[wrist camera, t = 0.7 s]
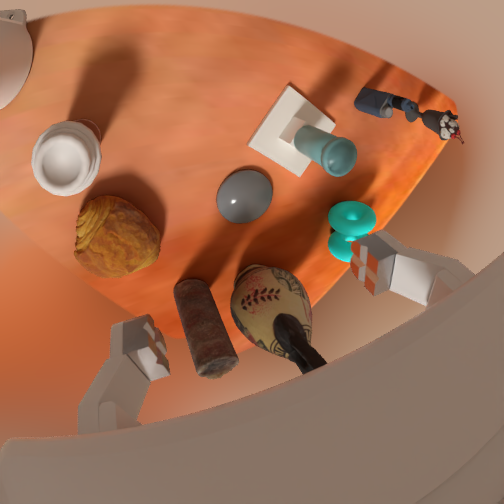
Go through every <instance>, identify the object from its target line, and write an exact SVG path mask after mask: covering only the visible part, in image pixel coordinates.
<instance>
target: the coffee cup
mask: <svg viewBox="0 0 504 504" xmlns="http://www.w3.org/2000/svg"><path fill="white" fill-rule="evenodd" d="M100 142H101V134H100V130H99V128H98V127H97V125H96V124H95V123H93V122H92V121H90V120H87V119H79V120H75V121H64V122H60V123H57V124H54V125H52V126H50V127H49V128H48V129H47V130H46V131H45V132H43V133H42V134H41V135H40V136H39V138H38V140H37V142H36V144H35V146H34V148H33V153H32V162H31V164H32V168H33V172H34V176H35V178H36V179H37V181H38V182H39V183H40V185H41V186H42V188H44V189H46V190H47V191H49V192H50V193H52V194H54V195H61V196H69V195H73V194H77V193H80V192H81V191H83V190H84V189H85V188H87V187H88V186H90V185H91V183H92V182H93V180H94V178H95V177H96V175H97V174H98V172H99V168H100V163H101V158H102V155H101V149H100Z"/></svg>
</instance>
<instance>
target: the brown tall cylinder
mask: <svg viewBox="0 0 504 504" xmlns="http://www.w3.org/2000/svg"><path fill="white" fill-rule="evenodd" d="M174 298H175V301H176V305H177V309H178V312H179V316H180V319H181V322H182V326H183V329H184V332H185V336H186V339H187V342H188V346H189V349H190V352H191V355H192V359H193V362H194V365H195V368H196V372H197V373H198V375H199V376H201V377H207V378H208V379H217V378H221V377H222V376H223V375H224V374H226V373H228V372H229V371H231V370H232V369H233V368H234V367H235V366H236V365H238V363H239V359H238V356H237V354H236V352H235V350H234V348H233V345H232V343H231V341H230V338H229V336H228V333H227V331H226V328H225V326H224V324H223V321H222V319H221V316H220V314H219V311H218V309H217V306H216V304H215V301H214V299H213V296H212V294H211V291H210V289H209V286H208V285H207V284H206V283H205V282H204V281H200V280H197V279H193V280H185V281H183V282H181V283H179V284H177V285H176V286H175V287H174Z"/></svg>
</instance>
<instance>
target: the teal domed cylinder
mask: <svg viewBox="0 0 504 504" xmlns="http://www.w3.org/2000/svg"><path fill="white" fill-rule="evenodd" d="M294 145H295V148H296V149H297V151H299V152H300V153H302V154H303V155H305V156H307V157H308V158H310V159H311V160H313V161H315V162H316V163H318V164H319V165H321V166H322V167H323V169H324V170H325V171H326V172H328V173H329V174H331V175H332V176H336V177H340V176H343V175H345V174H347V173H348V172H349V171H350V170H351V169H352V168H353V167H354V165H355V162H356V159H357V149H356V147H355V145H354V143H353V142H351V141H350V140H348V139H346V138H343V137H336V136H334V135H332V134H330V133H328V132H325V131H323V130H321V129H319V128H316V127H314V126H311V125H306V126H303V127H301V128H300V129H299V130H298V131H297V132H296V134H295V137H294Z"/></svg>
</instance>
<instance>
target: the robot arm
mask: <svg viewBox="0 0 504 504" xmlns="http://www.w3.org/2000/svg"><path fill="white" fill-rule="evenodd" d="M13 15H14V17H13V18H12V19H11V17H12V16H13ZM32 56H33V46H32V41H31V37H30V35H29V33H28V31H27V28H26V12H25V10H6V11H0V109H2V108H4V107H5V106H6V105H7V104H9V103H10V102H11V101H12V100H13V99H14V98H15V96H16V95H17V94H18V92H19V91H20V90H21V88H22V86H23V85H24V83H25V81H26V78H27V76H28V74H29V71H30V67H31V63H32ZM351 251H352V252H353V255H352V257H351V259H350V266H351V269H352V272H353V274H354V275H355V277H356V278H357V279H358V280H360V281H363V282H364V287H365V288H366V289H367V290H368V291H369V292H370V293H371V294H372V295H373V296H376V295H378V294H380V293H382V292H384V291H386V290H389V289H390V290H391V291H393V292H396V293H398V294H400V295H403V296H405V297H407V298H409V299H411V300H414V301H416V302H418V303H420V304H423V305H425V306H426V309H425V311H423V312H421V313H420V314H418V315H417V316H415V317H413V318H412V319H410V320H409V321H407V322H405V323H403V324H402V325H400V326H398V327H397V328H395V329H393V330H392V331H390V332H388V333H386V334H384V335H383V336H381V337H379V338H377V339H375V340H374V341H372V342H370V343H368V344H366V345H364V346H362V347H360V348H359V349H356V350H355V351H353V352H351V353H349V354H347V355H345V356H343V357H341V358H339V359H336V360H334V361H332V362H330V363H328V364H326V365H324V366H321V367H319V368H317V369H315V370H312V371H310V372H308V373H306V374H303V375H301V376H299V377H296V378H294V379H291V380H289V381H286V382H284V383H282V384H279V385H276V386H274V387H271V388H268V389H266V390H263V391H260V392H258V393H255V394H252V395H249V396H246V397H244V398H241V399H238V400H235V401H232V402H229V403H225V404H222V405H219V406H216V407H212V408H209V409H206V410H202V411H199V412H195V413H191V414H188V415H184V416H180V417H176V418H172V419H168V420H163V421H159V422H154V423H150V424H145V425H142V424H141V423H139V422H138V421H137V417H138V414H139V412H140V409H141V406H142V404H143V401H144V398H145V396H146V393H147V391H148V388H149V385H150V383H151V382H150V381H153V380H156V379H159V378H162V377H166V376H169V375H170V369H169V363H168V360H167V359H166V357H165V354H166V352H167V349H166V344H165V341H164V338H163V336H162V333H161V332H160V330H159V328H156V327H154V320H153V319H152V317H151V316H150V315H149V314H146V315H143V316H139V317H136V318H132V319H129V320H126V321H123V322H120V323H116V324H113V325H112V327H111V339H110V358H109V359H107V360H106V361H105V363H104V364H103V366H102V367H101V369H100V371H99V372H98V374H97V376H96V377H95V379H94V380H93V382H92V384H91V385H90V387H89V389H88V390H87V392H86V394H85V395H84V397H83V399H82V401H81V402H80V404H79V406H78V435H72V436H60V437H43V438H11V439H9V440H7V441H6V442H5V444H4V445H3V446H2V448H1V449H0V504H504V252H503V253H502V254H501V255H500V256H498V257H497V258H496V259H495V260H494V261H492V262H491V263H490V264H489V265H488V266H486V267H485V268H484V269H482V270H481V271H480V272H479V273H477V274H476V275H475V274H474V273H473V272H471V271H470V270H469V269H468V268H467V267H466V266H464V265H463V264H462V263H461V262H459V261H458V260H456V259H453V258H449V257H445V256H442V255H438V254H434V253H430V252H427V251H423V250H418V249H415V248H411V247H410V248H407V247H405V246H404V245H403V244H401V243H400V242H399V241H398V240H396V239H395V238H394V237H393V236H391V235H390V234H389V233H387V232H386V231H385V230H379V231H377V232H374V233H372V234H370V235H368V236H365V237H363V238H360V239H357V240H355V241H352V244H351Z"/></svg>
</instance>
